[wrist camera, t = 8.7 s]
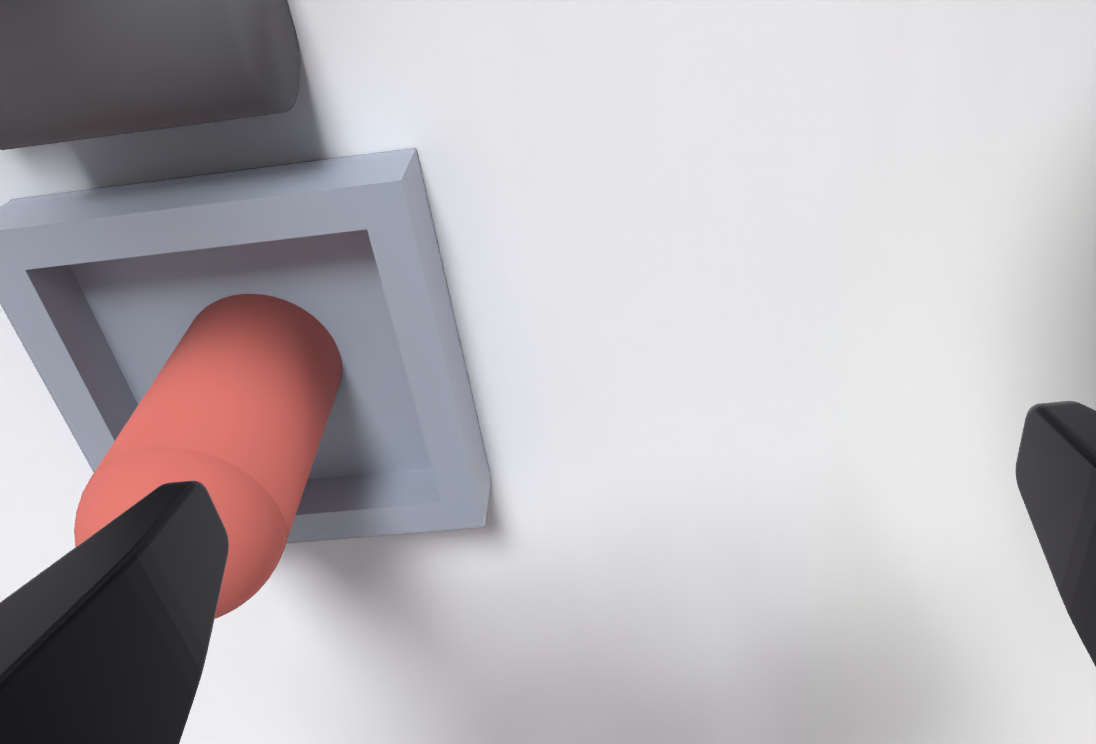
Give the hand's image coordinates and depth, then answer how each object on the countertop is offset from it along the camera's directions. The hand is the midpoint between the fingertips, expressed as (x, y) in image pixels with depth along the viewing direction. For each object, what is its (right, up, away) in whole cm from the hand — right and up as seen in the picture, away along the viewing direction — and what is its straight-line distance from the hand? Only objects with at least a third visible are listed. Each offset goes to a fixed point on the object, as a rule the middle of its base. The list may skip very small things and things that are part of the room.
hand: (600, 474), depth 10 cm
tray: (-8, +2, +14) cm, 16 cm away
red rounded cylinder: (-8, +1, +13) cm, 15 cm away
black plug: (-9, +9, +9) cm, 16 cm away
